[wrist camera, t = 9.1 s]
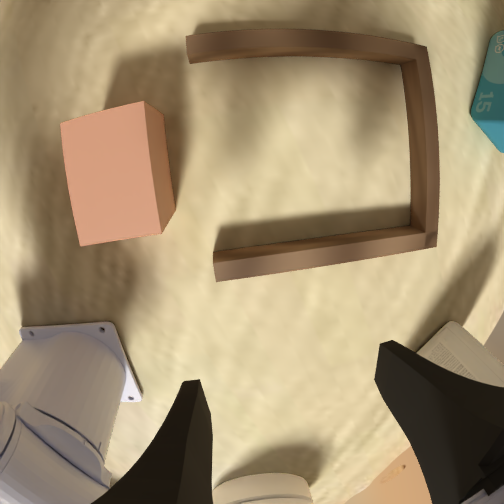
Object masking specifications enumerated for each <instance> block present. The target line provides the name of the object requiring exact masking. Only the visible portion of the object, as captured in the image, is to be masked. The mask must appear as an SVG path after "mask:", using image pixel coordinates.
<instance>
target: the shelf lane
mask: <svg viewBox="0 0 504 504" xmlns="http://www.w3.org/2000/svg"><path fill="white" fill-rule="evenodd" d="M186 46H187V55H188V59H189V62H190V64H192V63H199V62H207V61H216V60H225V59H237V58H251V57H274V56H312V57H335V58H349V59H360V60H369V61H378V62H385V63H392V64H399V65H401V69H402V76H403V83H404V90H405V99H406V108H407V118H408V130H409V145H410V168H411V215H410V226H402V227H395V228H387V229H379V230H372V231H364V232H357V233H349V234H342V235H334V236H327V237H319V238H312V239H304V240H297V241H290V242H282V243H275V244H268V245H260V246H253V247H246V248H238V249H231V250H224V251H217V252H213V266H214V272H215V278H216V282H220V281H227V280H234V279H241V278H248V277H255V276H262V275H269V274H276V273H282V272H289V271H296V270H302V269H308V268H315V267H321V266H328V265H334V264H340V263H346V262H352V261H358V260H364V259H370V258H376V257H382V256H388V255H394V254H399V253H405V252H411V251H416V250H422V249H428V248H433V247H436V246H437V234H438V218H439V188H440V171H439V141H438V126H437V114H436V104H435V96H434V88H433V81H432V74H431V68H430V62H429V57H428V51H427V47H425V46H421V45H417V44H413V43H408V42H403V41H398V40H393V39H388V38H382V37H376V36H369V35H362V34H355V33H346V32H336V31H323V30H305V29H254V30H236V31H224V32H213V33H204V34H196V35H189V36H186Z"/></svg>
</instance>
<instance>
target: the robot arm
mask: <svg viewBox="0 0 504 504" xmlns="http://www.w3.org/2000/svg"><path fill="white" fill-rule="evenodd" d="M100 327H103V328H104V329H105V330H102V329H101V328H100ZM31 331H32V332H33V333H34V334H33V333H32V332H31ZM19 333H20V336H21V338H22V342H21V343H20V344H19V345H18V347H17V348H16V349H15V350H14V352H13V353H12V354H11V356H10V357H9V358H8V360H7V361H6V362H5V364H4V365H3V366H2V368H1V369H0V504H213V497H212V443H213V434H212V423H211V413H210V410H209V407H208V404H207V401H206V398H205V395H204V391H203V388H202V385H201V382H200V379H199V380H190V381H184V382H183V383H182V385H181V387H180V390H179V392H178V394H177V397H176V399H175V401H174V403H173V405H172V407H171V409H170V411H169V413H168V415H167V417H166V419H165V420H164V422H163V424H162V426H161V427H160V429H159V431H158V432H157V434H156V436H155V437H154V439H153V440H152V442H151V443H150V445H149V446H148V448H147V449H146V450H145V452H144V453H143V454H142V456H141V457H140V458H139V459H138V461H137V462H136V463H135V464H134V465H133V466H132V467H131V469H130V470H129V471H128V472H127V473H126V474H125V475H124V476H123V477H122V478H121V479H120V480H119V481H118V482H117V483H116V484H115V485H113V486H112V487H109V486H110V481H111V476H112V473H111V472H109V471H108V470H107V469H106V468H105V466H104V464H105V459H106V455H107V451H108V447H109V443H110V439H111V435H112V431H113V427H114V423H115V419H116V416H117V412H118V408H119V405H120V402H140V401H142V398H143V395H142V393H141V391H140V389H139V386H138V384H137V382H136V379H135V377H134V375H133V372H132V370H131V367H130V365H129V362H128V360H127V357H126V355H125V352H124V350H123V347H122V344H121V342H120V339H119V336H118V334H117V331H116V328H115V326H114V324H113V323H111V322H95V323H82V324H67V325H51V326H32V327H22V328H21V329H20V330H19ZM374 380H375V382H376V385H377V387H378V389H379V391H380V394H381V396H382V398H383V400H384V401H385V403H386V405H387V406H388V408H389V409H390V411H391V413H392V414H393V416H394V417H395V419H396V420H397V422H398V424H399V425H400V427H401V428H402V430H403V431H404V433H405V435H406V436H407V438H408V440H409V442H410V444H411V446H412V448H413V450H414V453H415V455H416V457H417V459H418V462H419V464H420V467H421V469H422V472H423V475H424V477H425V481H426V484H427V487H428V490H429V493H430V496H431V500H432V504H504V387H499V386H494V385H490V384H486V383H482V382H478V381H475V380H472V379H469V378H466V377H464V376H461V375H458V374H456V373H454V372H452V371H449V370H447V369H445V368H443V367H441V366H439V365H437V364H435V363H433V362H431V361H429V360H427V359H426V358H424V357H422V356H420V355H418V354H417V353H415V352H413V351H411V350H410V349H408V348H406V347H404V346H403V345H401V344H399V343H397V342H395V341H393V340H391V341H388V342H384V343H381V344H380V346H379V353H378V360H377V366H376V373H375V379H374ZM130 396H132V397H130Z"/></svg>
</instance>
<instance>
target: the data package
mask: <svg viewBox="0 0 504 504" xmlns="http://www.w3.org/2000/svg"><path fill="white" fill-rule="evenodd" d="M471 116H472V119H473V120H474V121H475V122H476V124H477V125H478V126H479V127H480V128H481V129H482V131H483V132H484V133H485V134H486V135H487V137H488V138H489V139H490V140H491V142H492V143H493V144H494V145H495V147H496V148H497V149H498V150H499V151H500V152H502V153H504V30H502V31H499V32H497V33H496V34H495V35H493V37H492V38H491V40H490V43H489V47H488V51H487V56H486V60H485V64H484V68H483V71H482V75H481V79H480V82H479V86H478V89H477V92H476V95H475V99H474V102H473V105H472V108H471Z"/></svg>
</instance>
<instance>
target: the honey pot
mask: <svg viewBox="0 0 504 504" xmlns="http://www.w3.org/2000/svg"><path fill="white" fill-rule="evenodd" d="M212 497H213V504H313V500H312V497H311V493H310V490H309V486H308V483H307V482H306V480H305V479H304V478H302V477H300V476H298V475H293V474H289V473H262V474H255V475H248V476H244V477H240V478H235V479H232V480H230V481H227V482H224V483H222V484H221V485H219V486H217V487H216V488H215V489H214V490H213V491H212Z"/></svg>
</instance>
